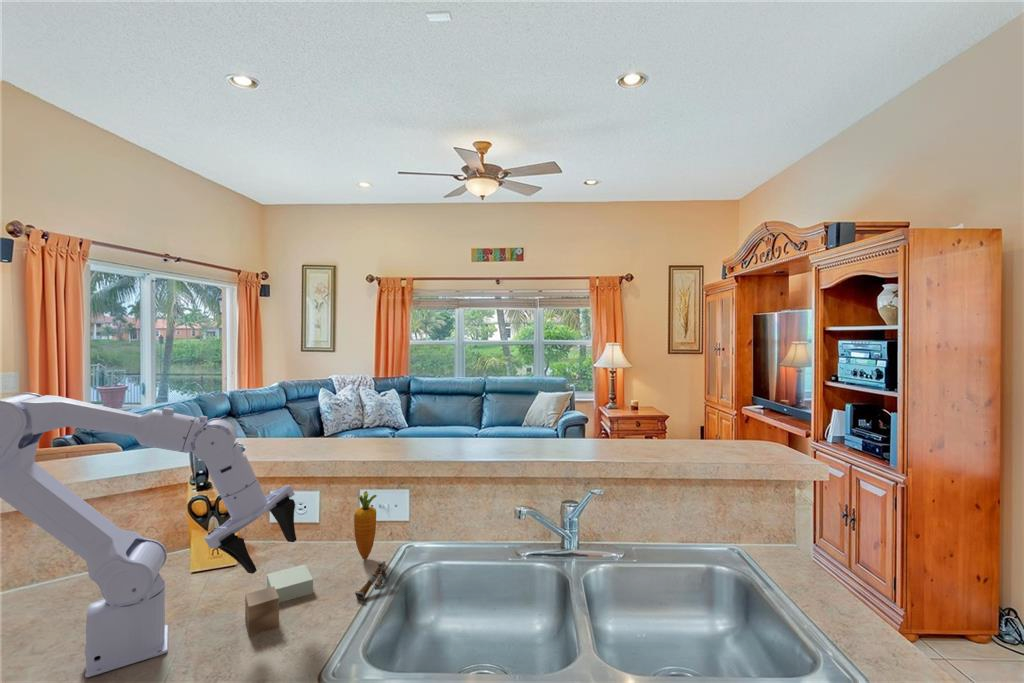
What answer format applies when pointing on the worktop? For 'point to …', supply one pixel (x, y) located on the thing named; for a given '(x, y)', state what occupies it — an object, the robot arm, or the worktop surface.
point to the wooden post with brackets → (372, 579)
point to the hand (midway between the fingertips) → (273, 555)
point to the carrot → (365, 526)
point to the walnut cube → (261, 611)
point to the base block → (291, 582)
